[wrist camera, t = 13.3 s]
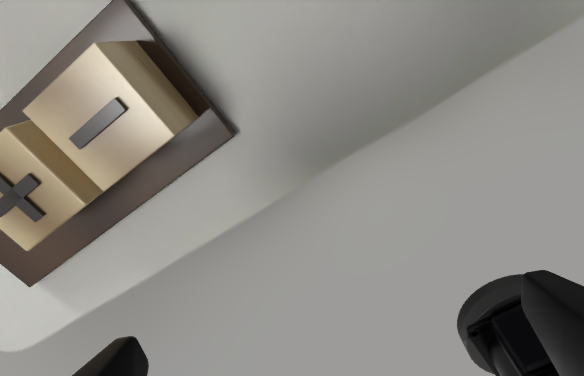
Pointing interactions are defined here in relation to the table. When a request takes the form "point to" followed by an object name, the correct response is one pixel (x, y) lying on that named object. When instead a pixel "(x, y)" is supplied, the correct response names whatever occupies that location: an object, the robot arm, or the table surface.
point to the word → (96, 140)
